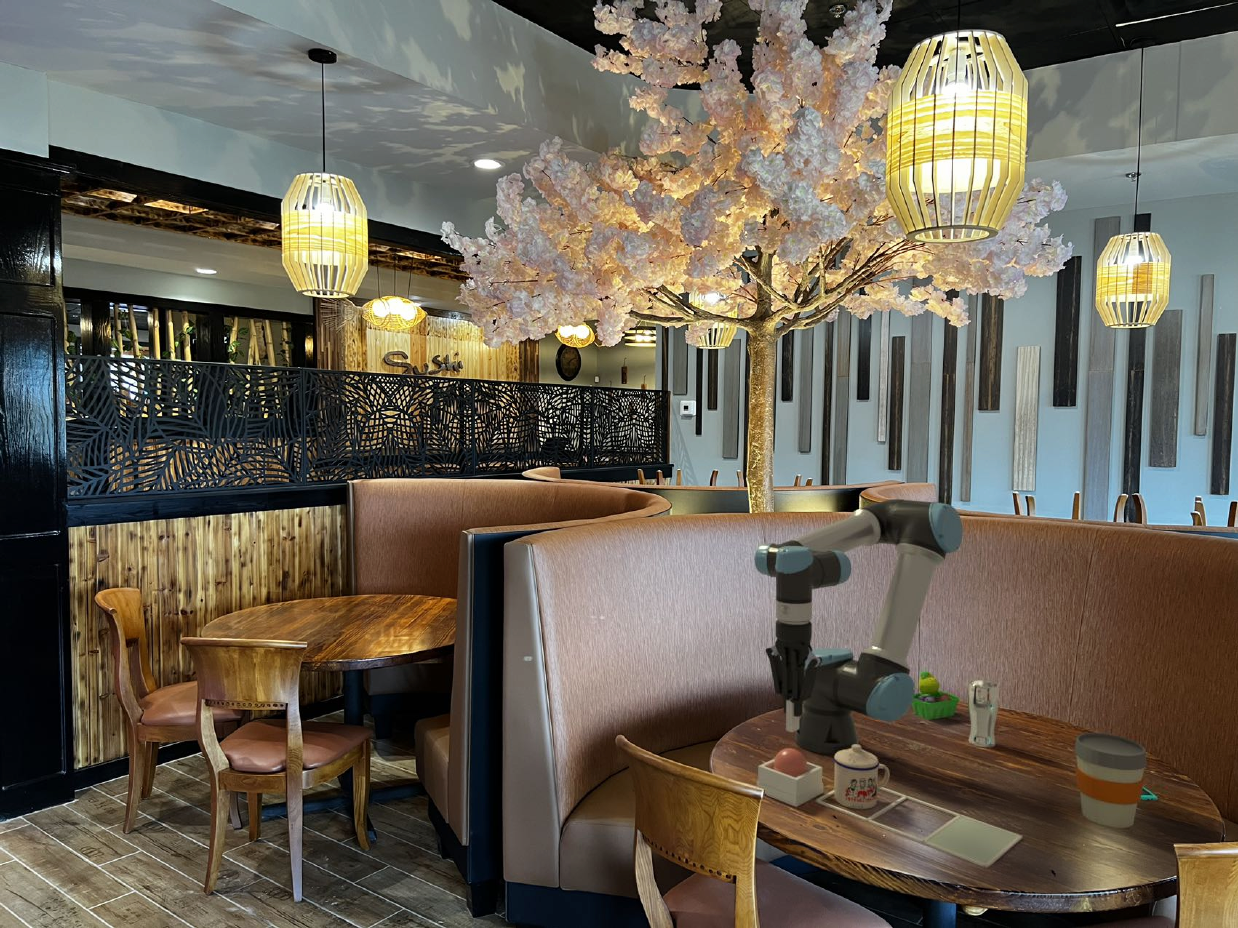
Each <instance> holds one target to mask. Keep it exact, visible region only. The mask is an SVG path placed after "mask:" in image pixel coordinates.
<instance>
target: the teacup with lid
mask: <svg viewBox="0 0 1238 928" xmlns="http://www.w3.org/2000/svg"><path fill="white" fill-rule="evenodd" d="M833 761H834V781H833V782H834V784H833V785H834V786H833V788H834V789H833V790H834V794H833V797H834V800H835V801H836V802H837V803H838V804H839V805H841V806H843V807H846V808H850V809H855V810H866V809H867V810H868V809H871V808H874V807H875V806H876V805H877V803H878V790H879V789H878V788H882V787H883V788H884V786H886V785H887V783H888V782H889V780H890V779H889V778H890V770H889V768H888V767H887V766H886V765H885V764H883V763H880V762H879V759H878V757H877V756H876V755H874V754H873V753H871V752H869V751H866V750H864V749H862V746H861V744H858V745H857V744H854V745H852V748H850V749H847V750H841V751H839V752H837V753H836V754H834V757H833ZM879 769H883V770H884V776H883V778H882V779H881V781H879V782H878V778H879V777H878V774H879V773H878V772H879Z"/></svg>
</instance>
